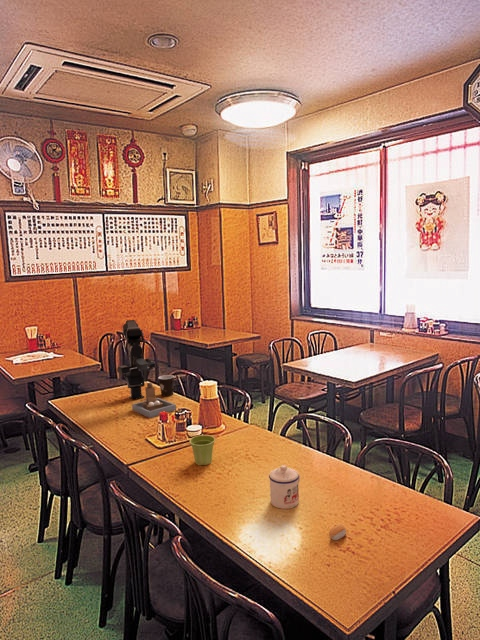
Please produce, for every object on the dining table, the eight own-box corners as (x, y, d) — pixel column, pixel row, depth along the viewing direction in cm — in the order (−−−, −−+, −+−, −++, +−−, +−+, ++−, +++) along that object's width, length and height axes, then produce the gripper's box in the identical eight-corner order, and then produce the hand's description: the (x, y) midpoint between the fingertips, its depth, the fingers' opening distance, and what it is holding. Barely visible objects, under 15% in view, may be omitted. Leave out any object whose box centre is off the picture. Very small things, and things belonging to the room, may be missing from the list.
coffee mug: (157, 394, 269) (156, 376, 268) (172, 391, 273) (171, 374, 271) (163, 399, 259) (162, 381, 257) (179, 396, 262) (177, 378, 261)
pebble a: (147, 408, 240) (146, 403, 238) (150, 405, 242) (149, 400, 241) (152, 409, 239) (152, 404, 237) (155, 406, 241) (155, 401, 240)
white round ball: (152, 406, 241) (153, 401, 240) (155, 404, 243) (156, 398, 242) (157, 408, 240) (158, 403, 239) (160, 406, 243) (161, 401, 242)
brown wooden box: (142, 407, 244) (141, 383, 243) (157, 404, 248) (155, 381, 246) (149, 412, 237) (147, 387, 235) (163, 409, 240) (162, 385, 239)
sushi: (326, 539, 129) (326, 529, 128) (341, 529, 133) (341, 519, 133) (334, 543, 127) (334, 533, 126) (349, 534, 131) (349, 523, 130)
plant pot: (221, 461, 180) (220, 438, 178) (202, 470, 173) (201, 447, 172) (204, 454, 186) (203, 433, 185) (185, 463, 179) (184, 440, 178)
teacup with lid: (287, 513, 142) (286, 475, 141) (263, 503, 149) (262, 467, 147) (311, 496, 151) (310, 461, 149) (287, 488, 157) (286, 454, 156)
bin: (132, 410, 243) (132, 404, 243) (158, 403, 253) (157, 397, 252) (149, 418, 230) (149, 412, 230) (176, 410, 240) (175, 404, 239)
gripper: (126, 358, 230) (128, 390, 232) (160, 352, 242) (162, 382, 244) (115, 355, 238) (117, 386, 240) (148, 349, 250) (150, 378, 252)
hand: (137, 383), depth 244 cm, fingers open, 9 cm apart
